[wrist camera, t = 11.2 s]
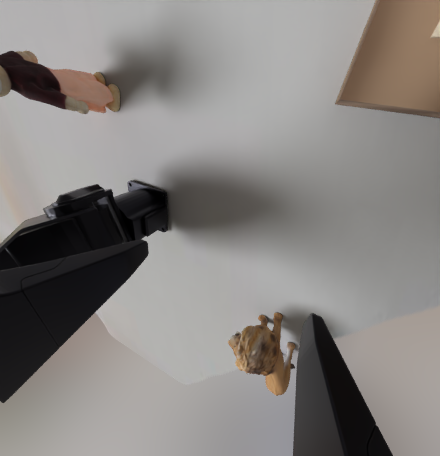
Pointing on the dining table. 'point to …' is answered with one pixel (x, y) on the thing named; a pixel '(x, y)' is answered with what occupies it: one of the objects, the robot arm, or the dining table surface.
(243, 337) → the lion figurine
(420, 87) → the plinth
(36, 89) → the grandmother figurine
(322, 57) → the dining table surface
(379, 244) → the dining table surface
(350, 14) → the dining table surface
